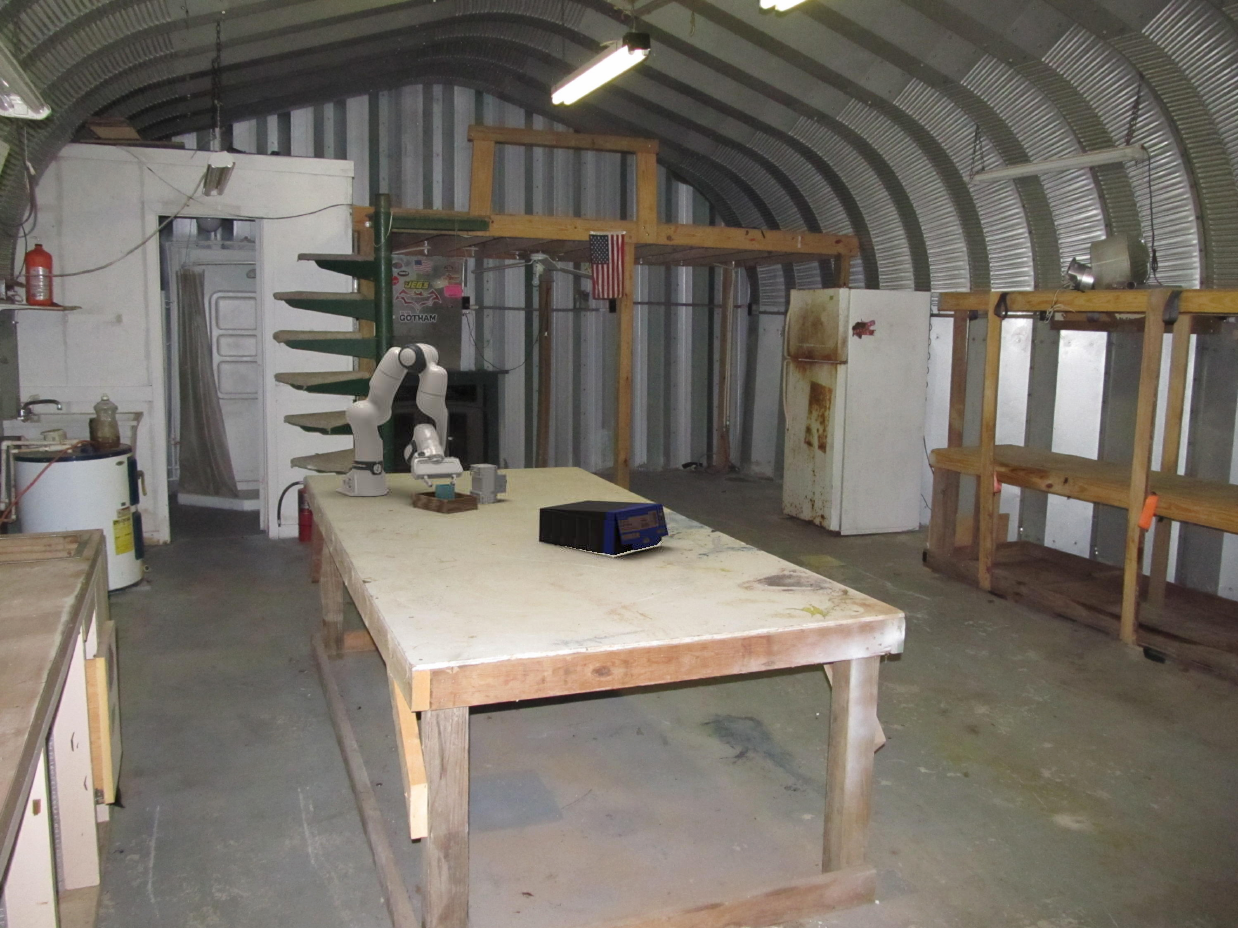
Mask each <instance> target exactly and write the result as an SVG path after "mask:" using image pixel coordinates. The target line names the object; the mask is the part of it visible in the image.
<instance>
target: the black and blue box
mask: <svg viewBox="0 0 1238 928" xmlns="http://www.w3.org/2000/svg"><path fill="white" fill-rule="evenodd" d="M538 516H539V519H538V522H539V524H538V526H539V527H538V542H539V543H543V542H544V543H543V544H548V545H552V544H554V545H553V546H557V545H559V546H558V547H562V546H567V547H572V548H576V549H582V550H586V551H592V552H597V553H605V554H610V555H617V554H620V553H624V552H627V551H631V550H638V549H642V548H646V547H650V546H654V545H657V544H658V543H659V542H660V541H662V540H663V537H667V536H669V531H668V525H667V521H666V517H665V511H664V505H663V503H658V502H657V503H656V502H655V503H654V502H652V503H651V502H635V501H634V502H631V501H629V502H628V501H612V500H611V501H610V500H589V499H588V500H582V501H576V502H575V501H574V502H571V503H570V502H569V503H562V504H559V505H558V504H557V505H551V506H547V507H546V506H545V507H539V515H538Z"/></svg>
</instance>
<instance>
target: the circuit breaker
mask: <svg viewBox="0 0 1238 928" xmlns="http://www.w3.org/2000/svg"><path fill="white" fill-rule="evenodd" d="M498 469H499V467H498V465H494V464H492V463H491V464H489V463H479V464H470V468H469V476H470V477H471V489H470V490H469V495H474V496H478V505H480V504H481V505H486V504H485V503H490V504H492V503H491V502H497V503H498V494H505V493H507V483H508V479H507V473H501V472H499V470H498Z"/></svg>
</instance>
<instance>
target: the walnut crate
mask: <svg viewBox="0 0 1238 928" xmlns="http://www.w3.org/2000/svg"><path fill="white" fill-rule="evenodd" d="M411 496H412V497H411V500H412V501H411V506H413V507H412V508H416V507H417V508H418V509H421V508H422V510H425V509H426V511H431V512H435V511H436V512H435V513H440V514H444V513H445V514H444V515H447V514H446V513H448V514H454V513H461V512H460V511H462V512H467V511H474V509H475V510H479V504H478V496H474V495H470V493H469V494H468V493H462V492H458V491H455V499H451V500H443V499H438V498H435V490H433V491H426V492H417V493H412V494H411Z"/></svg>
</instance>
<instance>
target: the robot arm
mask: <svg viewBox="0 0 1238 928" xmlns="http://www.w3.org/2000/svg"><path fill="white" fill-rule="evenodd" d="M441 354H442V353H441V352H440V350H439V349H438V348H437V347H436V346H434V345H432V344H426V343H419V342H418V343H408V344H405V345H403V346H402V347H397V346H393V347H391V348H389V349H388V351H387V352H386V353H385V354H384V356H383V357H382V359H381V360H380V362H379V364H378V365H377V368H376V369H375V370H374V372H373V375H372V377H371V379H370V381H369V385H368V386H369V392H368V396H367V398H366V399H364V400H363V399H362V400H358V401H354V402H353V403H351V404H350V405H348V406H347V408H346V410H345V419H346V421H347V423H348V424H349V425H350V427H351V431H352V433H353V434H352V436H353V438H354V455H355V456H354V457H355V459H354V460H351V462H352V463H351V464H352V467H351V470H350V471H349V472H348V473H347V474H346V475H344V476H343V479H342V487H339V488H337V489H336V492H337V493H340V494H343V495H346V496H349V497H377V496H378V497H379V496H384V495H387V494H388V492H390V490H389V488H388V487H387V477H386V476H387V475H386V472H385V471H384V469H385V461H384V455H383V454H384V444H383V443H384V442H383V439H382V438H381V437H380V436H381V435H380V434H379V433H380V432H379V431H378V426H381V425H383V424H385V423H387V422H388V421H389V420H390V419H391V416H392V405H393V402H394V401H393V400H394V397H395V395H396V393H397V391H398V389H399V387H400V385H401V383H402V381H403V380H404V377H405V376H406V374H407V372H408V371H409V372H410V373H411V374H413V375H415V376H416V375H418V377H419V384H418V388H417V392H416V399H415V400H416V401H415V402H416V405H417V407H418V409H419V410H420V412H422V413H423V414H424V415H426V416H428V417H430V418H432V419H433V420H434V421H435V425H436V427H434V426H433V425H432V424H431V423H421V424H420V423H419V424H417V425H416V426H415V427H414V428H413V437H412V440H411V441H410V442H409V443H408V444H406V445H405V447H404V449H403V459H404V461H405V463H406V464H407V465H408V466H409V467H411V468H410V473H411V477H412V478H413V479H414V480H417V481H418V480H422V482H424V483H425V484H426V485H427V488H433V486H434V484H433V481H431V480H432V479H433V480H434V479H435V480H436V479H437V480H438V479H451V480H450V482H449V484H450V485H453V486H456V479H458V478H461V477H462V476H463V473H464V469H463V466H462V465H461V462H460V459H459V458H457V457H455V456H450V452H449V437H450V436H449V435H450V411H449V408H447V407H446V401H445V400H446V394H447V387H448V372H447V371H446V369H445V368H443V367H442V366H440V364H441V363H442V355H441Z"/></svg>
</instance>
